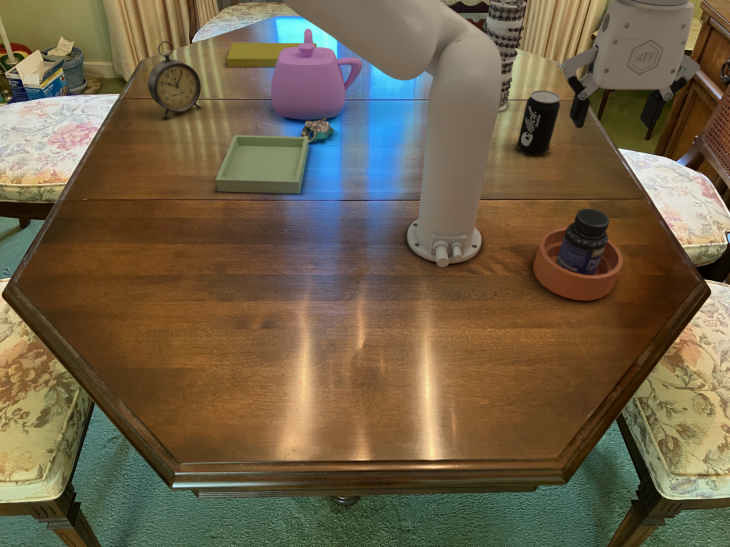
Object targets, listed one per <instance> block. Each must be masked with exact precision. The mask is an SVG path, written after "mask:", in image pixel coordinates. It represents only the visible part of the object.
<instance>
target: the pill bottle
mask: <svg viewBox="0 0 730 547" xmlns="http://www.w3.org/2000/svg"><path fill="white" fill-rule="evenodd" d="M609 225H610V218H609V216H608V215H607V214H606V213H604V212H602V211H600V210H599V209H593V208H582V209H580V210H579V211H577V212H576V215H575V217H574V221H573V222H571V223H570V224H569V225H568V226H566V227H567V229H566V232H565V235H564V238H563V241H562V244H561V247H560V250H559V254H558V257H557V260H556V264H557V265H559V266H560V267H562V268H564V269H566V270H569V271H571V272H574V273H578V274H583V275H594V274H595V271H596V269H597V266H598V264H599V262H600V259H601V256H602V254H603V251H604V249H605V246H606V244H607V241H608V240H609V235H608V233H607V230H608V227H609Z"/></svg>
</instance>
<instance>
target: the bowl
mask: <svg viewBox="0 0 730 547" xmlns="http://www.w3.org/2000/svg"><path fill="white" fill-rule="evenodd" d="M567 227H568V226H564V227H558V228H554V229H551V230H549V231H548V232H547V231H546V233H545V234H543V236H542V237H541V238H540V240H539V244H538V247H537V250H536V254H535V257H534V260H533V261H534V262H533V264H532V265H533V266H532V270H533V273H534V276H535V278H536V279H537V280H538V281H539V283H540V284H541V285H542V286H543V287H545V288H546V289H547V290H549V291H550V292H552V293H554V294H556V295H558V296H560V297H563V298H566V299H570V300H574V301H588V302H589V301H594V300H599V299H602V298H604V297H605V296H607V295H609V294H610V293H611V291H612V289H613V288H614V286H615V283H616V281H617V279H618V276H619V275H620V272H621V270H622V267H623V266H624V256H623V254H622V251H621V250H620V248H618V246H617V245H616V244H615V243H613V241H612V240H610V239H608V241H607V244H606V246H605V249H604V251H603V254H602V256H601V259H600V262H599V264H598V266H597V269H596V271H595V274H594V275H583V274H578V273H574V272H571V271H569V270H566V269H564V268H562V267H560V266H559V265H557V264H556V260H557V257H558V254H559V250H560V247H561V244H562V241H563V238H564V235H565V232H566V229H567Z"/></svg>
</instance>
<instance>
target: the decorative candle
mask: <svg viewBox="0 0 730 547" xmlns="http://www.w3.org/2000/svg"><path fill="white" fill-rule="evenodd" d="M488 2H489V7H488V13H487V15H486V19H485V21H484V23H483V24H482V30H481V31H482V32H483V33H485V34H486V35H487V36H488V37H489V38H490V39H491V40H492V41H493V42H494V43H495V44H496V46H497V48H498V50H499V52H500V56H501V63H502V68H501V75H502V82H501V98H500V105H499V110H498V112H502V111H504V110H505V109H507V106H508V105H507V104H508V103H509V96H510V89H511V88H512V87H511V86H512V85H511V83H512V82H513V77H512V74H513V66H514V62H515V61H516V60H517V57H518V54H519V52H518V51H517V48H519V47H521V43H520V42H519V41H521V40H522V39H523V37H522V35H521V34H520V32H523V31H524V30H525V26H524V25H523V22H524V11H525V7H526V6H527V4H528V3H527V2H526V1H525V0H488Z"/></svg>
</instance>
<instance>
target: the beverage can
mask: <svg viewBox="0 0 730 547" xmlns="http://www.w3.org/2000/svg"><path fill="white" fill-rule="evenodd" d="M560 99H561V97H560V95H558V93H556V92H554V91H551V90H545V89H544V90H543V89H539V90H534V91H532V92H531V93H530V96H529V97H528V99H527V100H526V104H525V108H524V113H523V118H522V122H521V126H520V130H519V135H518V139H517V147H518V149H519V150H520V152H522V153H524V154H526V155H530V156H541V155H543V154H545V153H546V152H548V151H549V148H550V144H551V142H552V137H553V134H554V130H555V127H556V123H557V119H558V115H559V111H560V109H561V108H560V107H561V102H560Z"/></svg>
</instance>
